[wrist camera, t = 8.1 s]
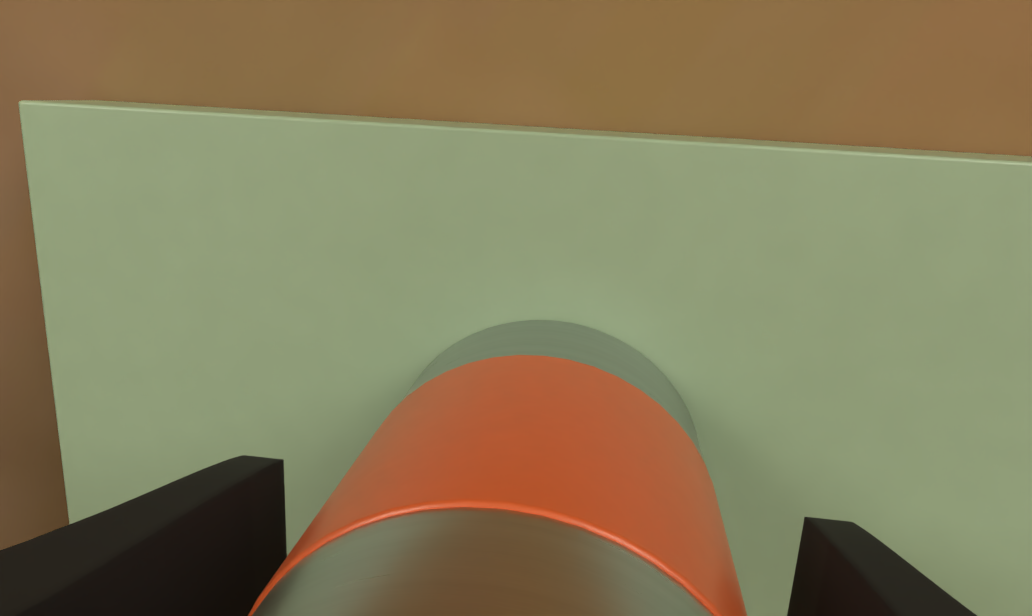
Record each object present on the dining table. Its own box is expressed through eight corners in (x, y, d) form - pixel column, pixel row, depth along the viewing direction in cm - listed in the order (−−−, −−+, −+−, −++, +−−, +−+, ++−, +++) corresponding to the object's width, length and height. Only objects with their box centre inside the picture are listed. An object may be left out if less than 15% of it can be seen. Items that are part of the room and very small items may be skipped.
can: (390, 580, 14) (151, 1099, 7) (393, 301, 12) (90, 580, 5) (683, 617, 13) (768, 1226, 6) (723, 330, 12) (894, 686, 5)
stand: (143, 601, 17) (85, 664, 15) (96, 100, 14) (16, 99, 12) (1084, 726, 15) (1153, 817, 13) (1262, 170, 12) (1384, 183, 10)
